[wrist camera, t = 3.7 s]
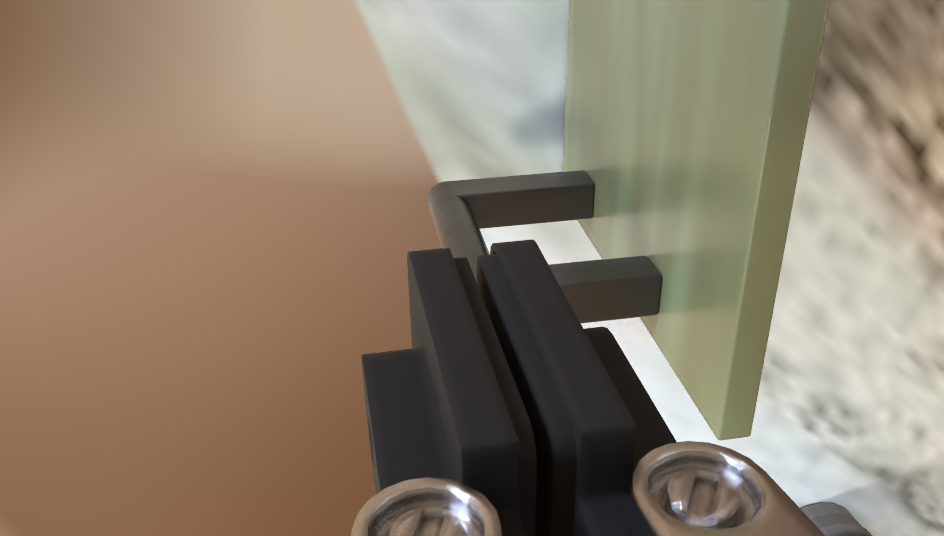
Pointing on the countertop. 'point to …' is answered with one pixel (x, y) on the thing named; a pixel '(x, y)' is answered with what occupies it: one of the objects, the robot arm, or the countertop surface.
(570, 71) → the cupboard door
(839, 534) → the beverage cup
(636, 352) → the countertop surface
